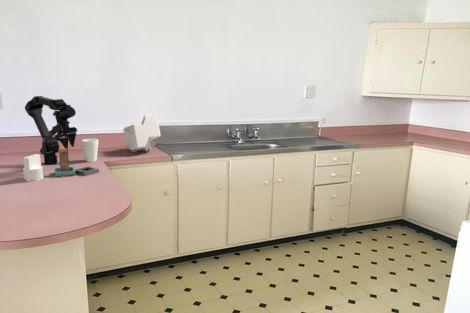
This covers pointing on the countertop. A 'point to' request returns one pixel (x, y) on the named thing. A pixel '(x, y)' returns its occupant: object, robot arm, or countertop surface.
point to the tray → (66, 173)
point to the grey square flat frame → (86, 171)
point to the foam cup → (90, 149)
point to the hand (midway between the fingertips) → (69, 148)
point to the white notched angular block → (142, 133)
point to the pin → (64, 160)
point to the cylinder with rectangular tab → (33, 167)
